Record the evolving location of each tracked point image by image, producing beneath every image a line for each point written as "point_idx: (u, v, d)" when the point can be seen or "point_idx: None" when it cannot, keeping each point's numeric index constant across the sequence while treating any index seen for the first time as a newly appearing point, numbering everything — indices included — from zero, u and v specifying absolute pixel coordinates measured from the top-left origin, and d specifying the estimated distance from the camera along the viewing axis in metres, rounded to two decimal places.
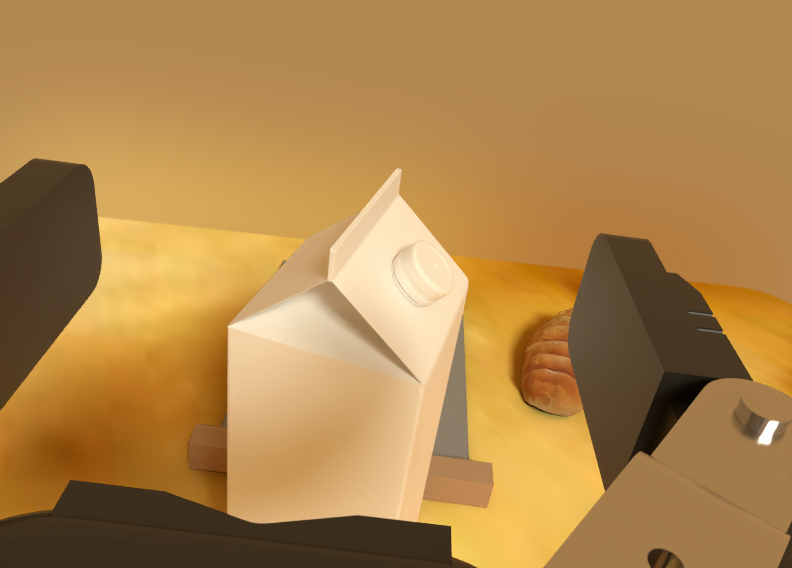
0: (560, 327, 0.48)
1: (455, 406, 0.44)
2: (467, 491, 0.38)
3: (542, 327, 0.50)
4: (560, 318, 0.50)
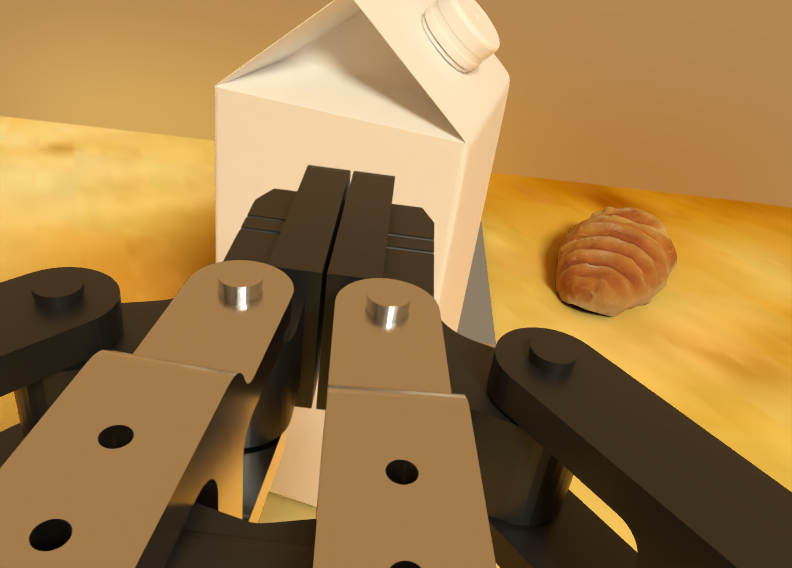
0: (598, 223, 0.43)
1: (478, 300, 0.39)
2: None
3: (576, 227, 0.45)
4: (596, 217, 0.45)
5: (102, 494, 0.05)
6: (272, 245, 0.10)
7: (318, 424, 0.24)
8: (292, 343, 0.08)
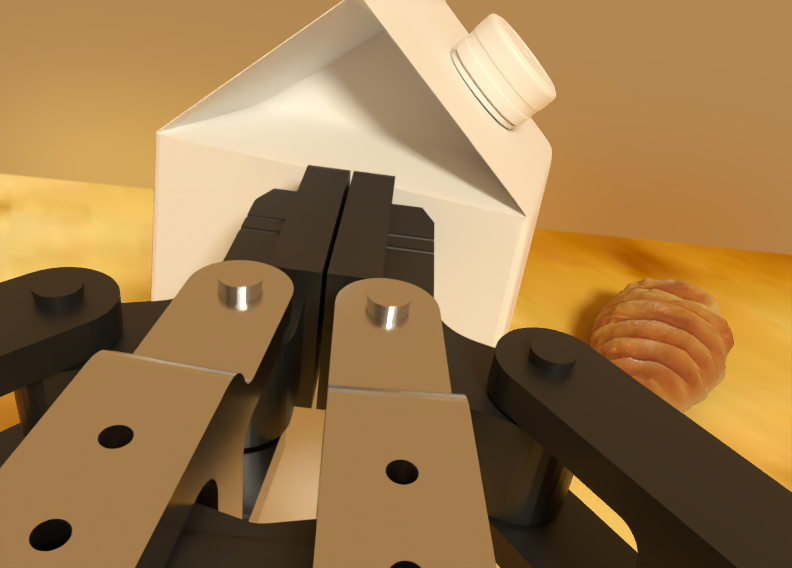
0: (638, 302, 0.36)
1: None
2: None
3: (610, 304, 0.37)
4: (633, 291, 0.37)
5: (102, 493, 0.05)
6: (272, 246, 0.10)
7: None
8: (292, 343, 0.08)
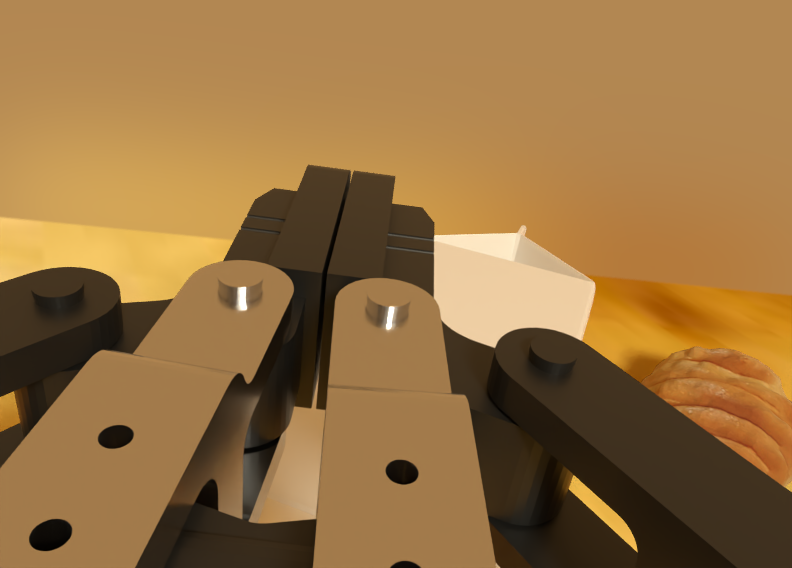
0: (689, 382, 0.30)
1: None
2: None
3: (653, 381, 0.32)
4: (680, 365, 0.32)
5: (102, 494, 0.05)
6: (272, 246, 0.10)
7: None
8: (292, 344, 0.08)
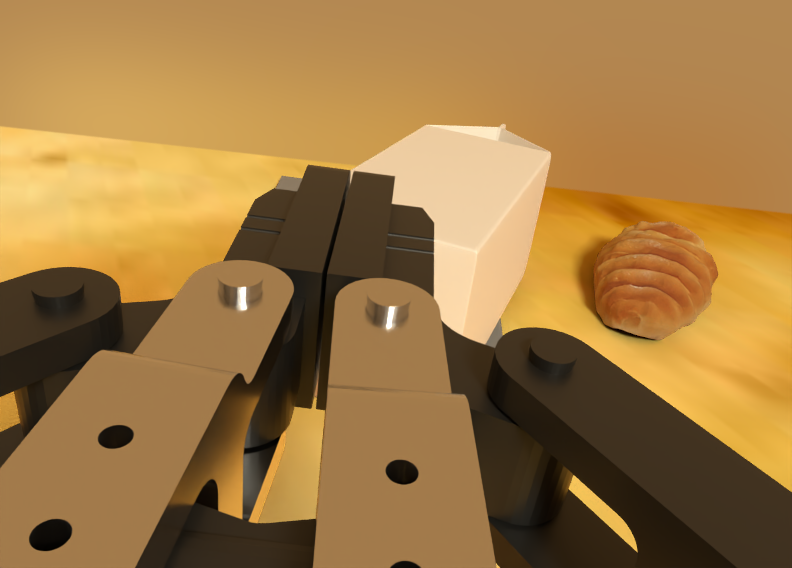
0: (635, 240, 0.41)
1: None
2: None
3: (610, 244, 0.42)
4: (630, 233, 0.43)
5: (102, 494, 0.05)
6: (272, 246, 0.10)
7: (427, 196, 0.29)
8: (292, 343, 0.08)
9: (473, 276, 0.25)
